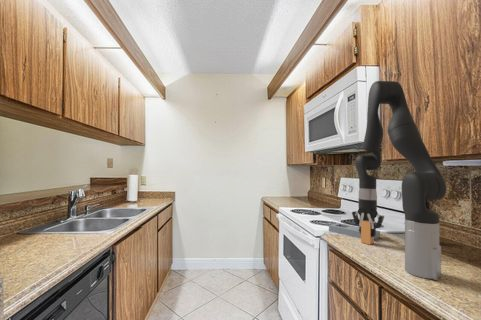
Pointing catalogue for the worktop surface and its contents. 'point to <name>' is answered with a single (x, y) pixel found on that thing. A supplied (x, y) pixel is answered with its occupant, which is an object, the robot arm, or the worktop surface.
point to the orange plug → (366, 232)
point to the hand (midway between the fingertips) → (367, 235)
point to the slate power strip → (349, 230)
